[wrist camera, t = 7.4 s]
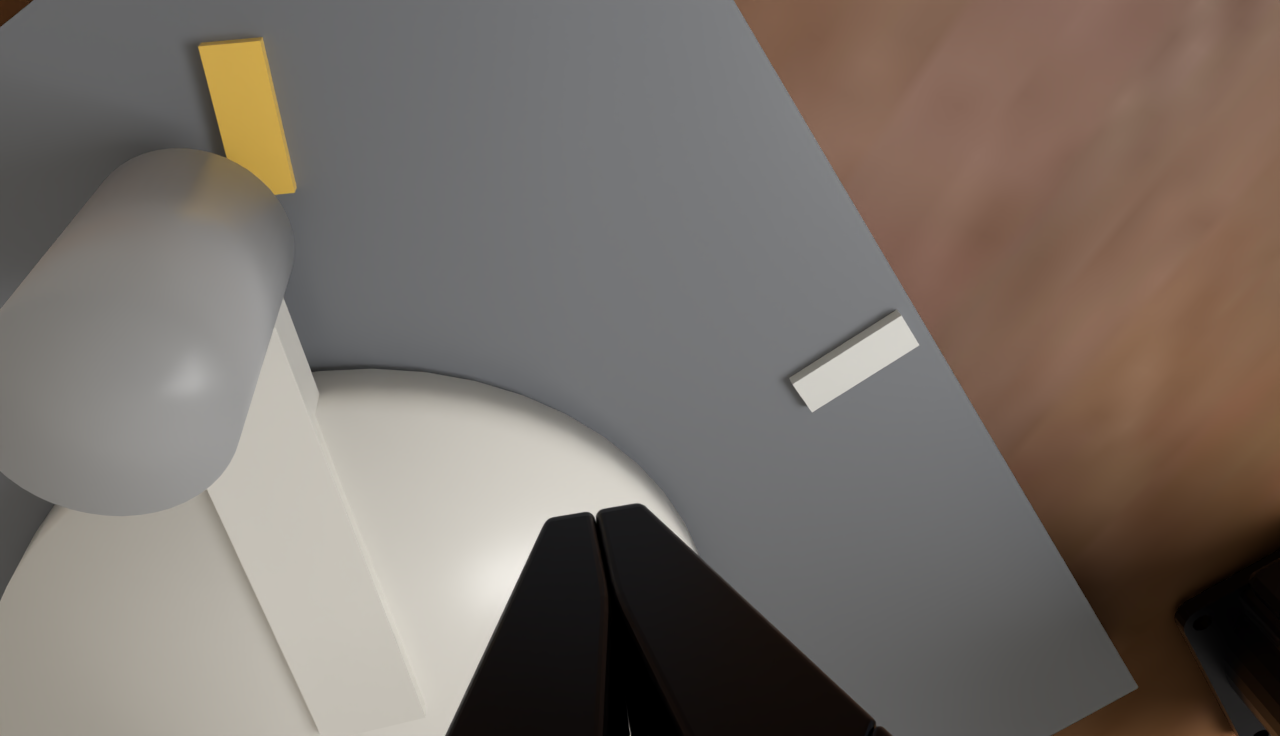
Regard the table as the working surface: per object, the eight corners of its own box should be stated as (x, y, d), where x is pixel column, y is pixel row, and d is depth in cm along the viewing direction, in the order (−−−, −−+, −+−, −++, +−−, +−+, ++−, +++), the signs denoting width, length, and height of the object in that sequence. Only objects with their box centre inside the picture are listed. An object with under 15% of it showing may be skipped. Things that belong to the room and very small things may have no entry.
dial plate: (1107, 645, 28) (1144, 695, 27) (327, 1078, 32) (321, 1143, 31) (503, -372, 16) (508, -385, 14) (-645, 553, 20) (-734, 619, 18)
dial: (745, 800, 26) (814, 1043, 21) (173, 938, 26) (106, 1223, 21) (611, 41, 17) (678, 161, 12) (-295, 229, 16) (-621, 438, 11)
